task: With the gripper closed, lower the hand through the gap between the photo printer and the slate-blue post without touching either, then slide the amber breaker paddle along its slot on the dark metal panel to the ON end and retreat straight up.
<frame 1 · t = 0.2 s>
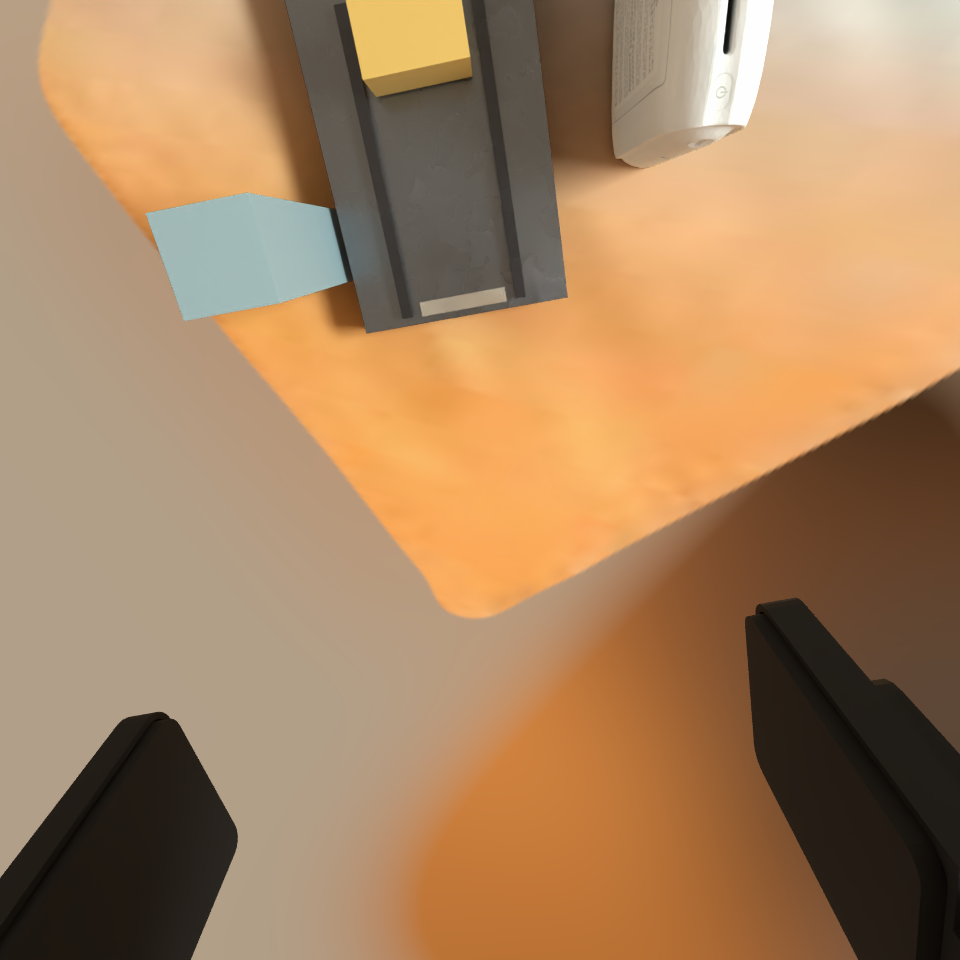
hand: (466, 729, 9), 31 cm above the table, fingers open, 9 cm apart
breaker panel: (438, 149, 33), on the table
photo printer: (647, 64, 32), on the table
breaker paddle: (413, 41, 28), point 5 cm above the table, slide at 0.0 cm
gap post: (314, 251, 36), on the table
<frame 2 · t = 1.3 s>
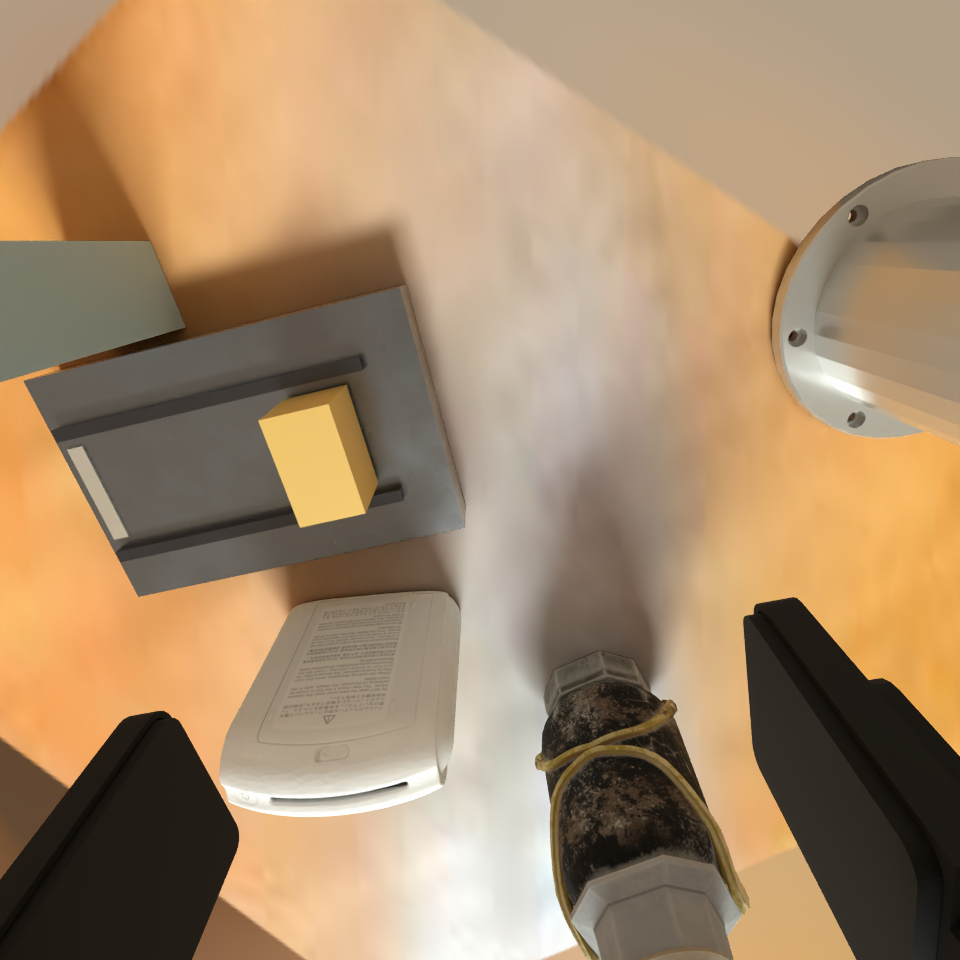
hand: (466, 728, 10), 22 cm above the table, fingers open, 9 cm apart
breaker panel: (272, 441, 31), on the table
photo printer: (376, 617, 35), on the table
breaker paddle: (323, 454, 26), point 5 cm above the table, slide at 0.0 cm
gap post: (129, 295, 28), on the table
lantern: (595, 690, 37), on the table
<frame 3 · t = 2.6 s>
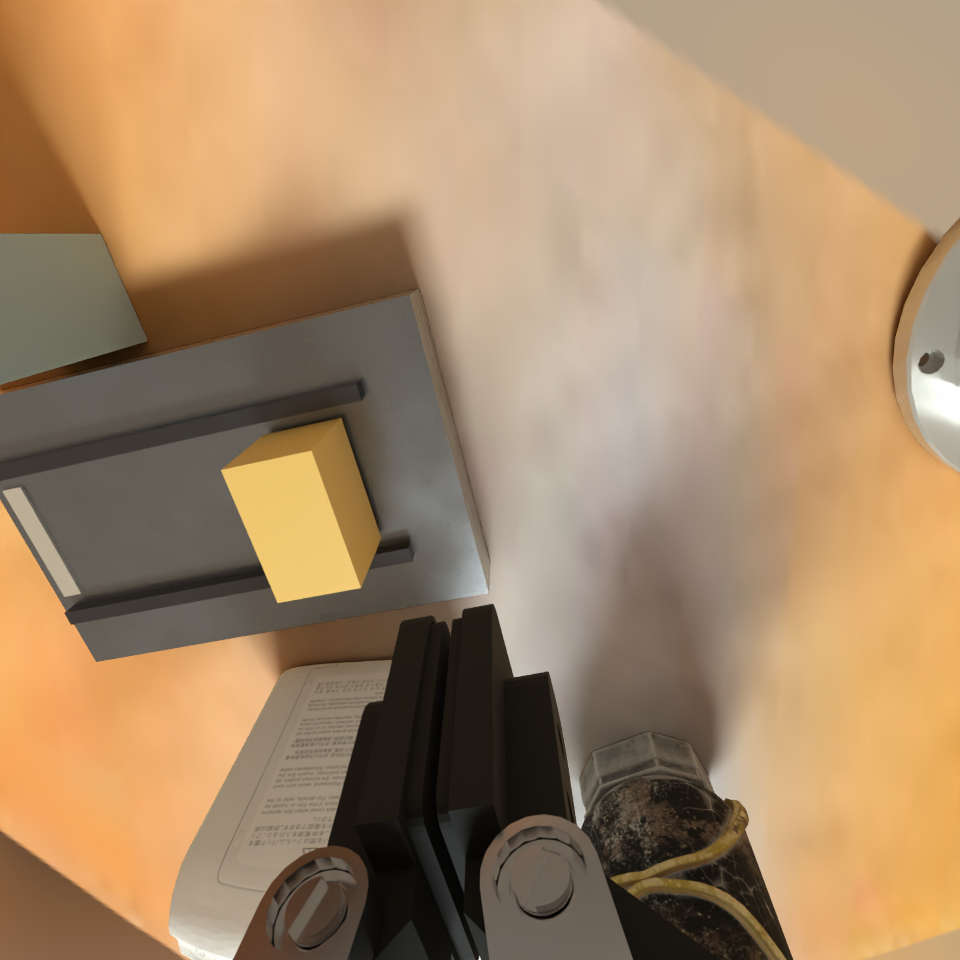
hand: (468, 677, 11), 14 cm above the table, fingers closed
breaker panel: (255, 480, 25), on the table
photo printer: (381, 685, 30), on the table
breaker paddle: (310, 508, 21), point 5 cm above the table, slide at 0.0 cm
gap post: (78, 301, 23), on the table
lantern: (642, 774, 31), on the table
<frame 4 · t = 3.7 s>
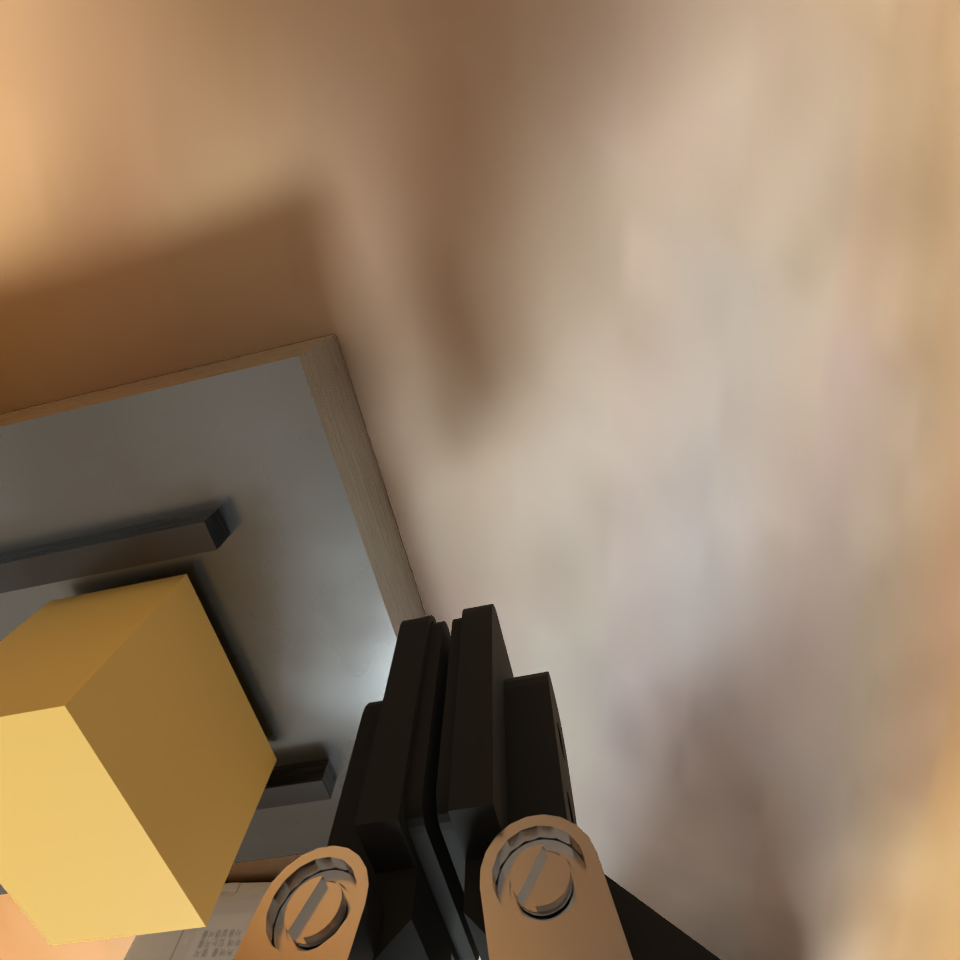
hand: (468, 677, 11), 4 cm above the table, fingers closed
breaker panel: (87, 634, 16), on the table
photo printer: (310, 903, 20), on the table
breaker paddle: (121, 750, 11), point 5 cm above the table, slide at 0.0 cm
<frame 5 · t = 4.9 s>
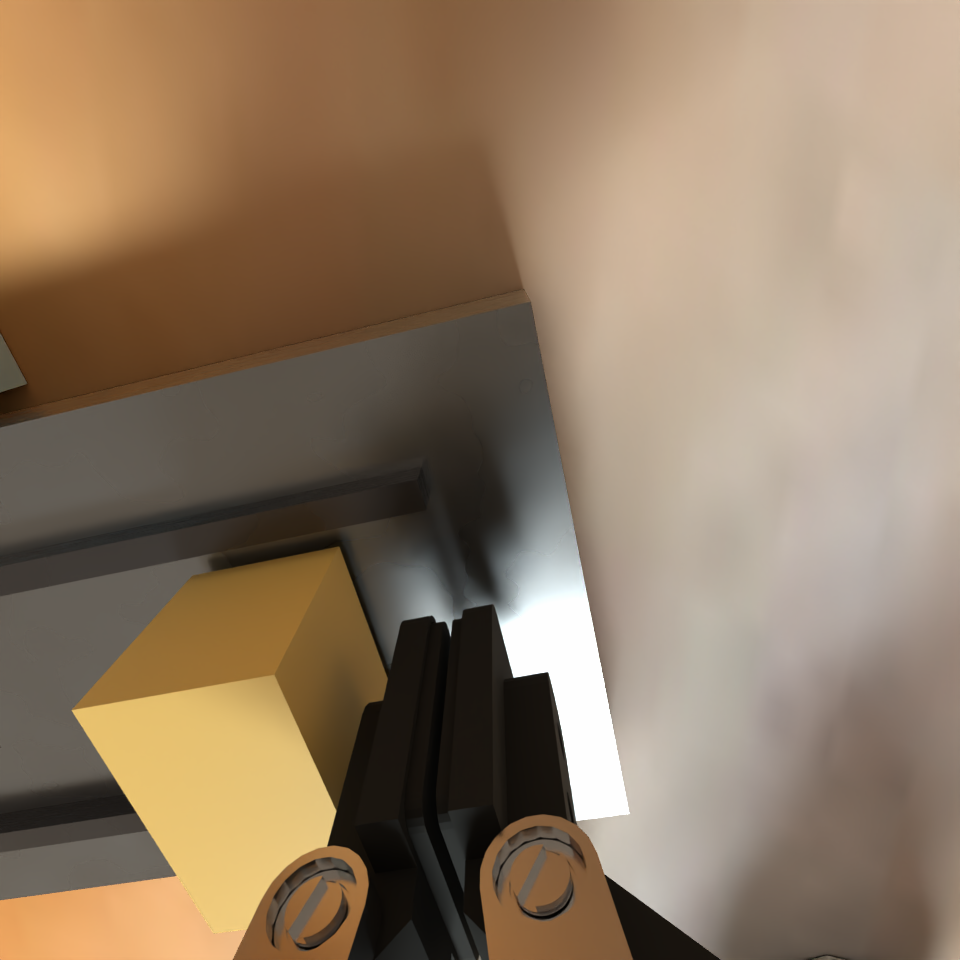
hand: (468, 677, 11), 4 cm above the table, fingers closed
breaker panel: (225, 611, 15), on the table
breaker paddle: (279, 730, 10), point 5 cm above the table, slide at 0.9 cm, touching gripper
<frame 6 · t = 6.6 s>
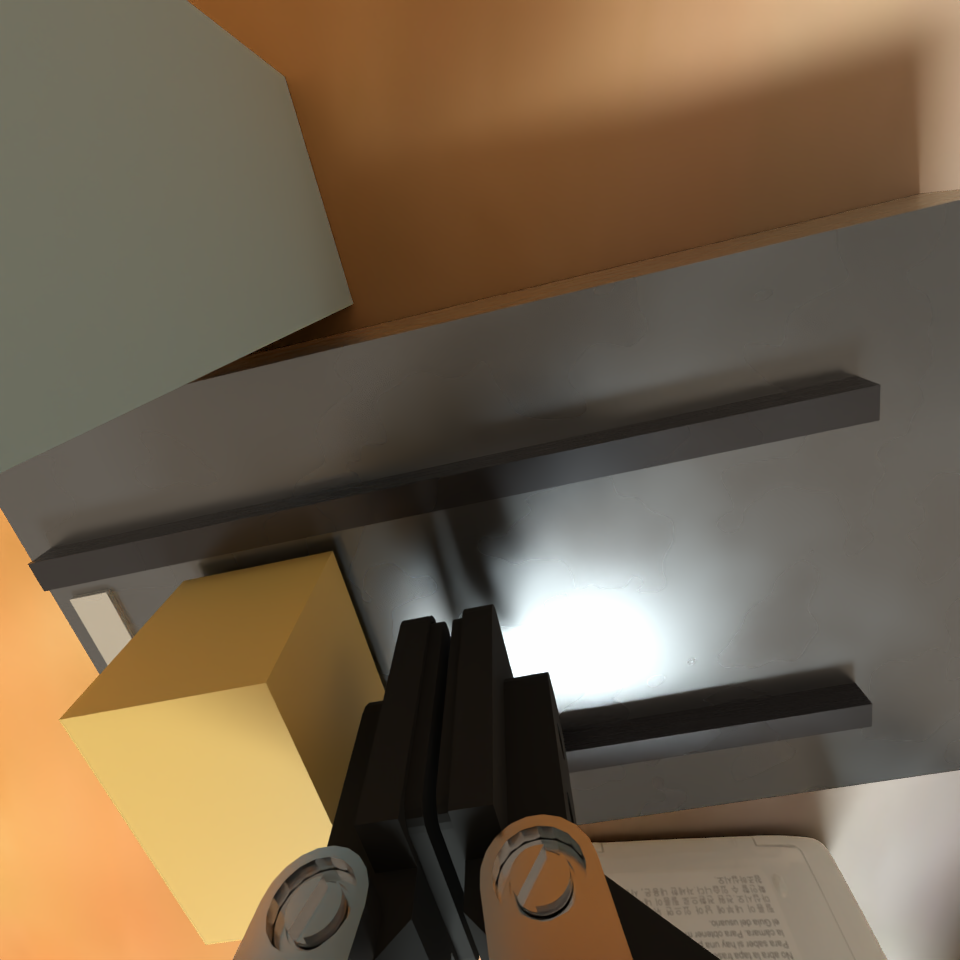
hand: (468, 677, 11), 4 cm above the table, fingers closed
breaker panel: (515, 558, 14), on the table
photo printer: (654, 866, 19), on the table
breaker paddle: (272, 737, 10), point 5 cm above the table, slide at 8.5 cm, touching gripper
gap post: (223, 223, 11), on the table
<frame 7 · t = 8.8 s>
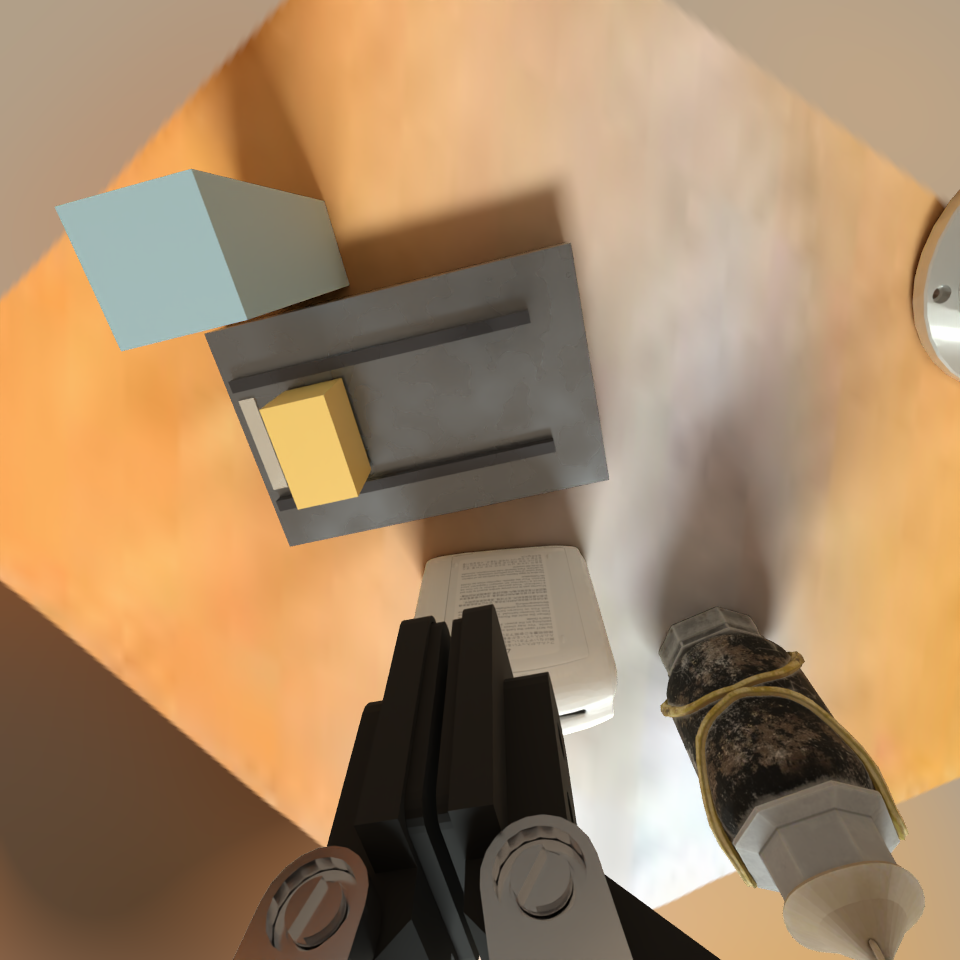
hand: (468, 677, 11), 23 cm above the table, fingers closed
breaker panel: (421, 397, 32), on the table
photo printer: (503, 573, 37), on the table
breaker paddle: (320, 442, 28), point 5 cm above the table, slide at 8.6 cm
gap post: (299, 253, 29), on the table
lantern: (708, 646, 39), on the table
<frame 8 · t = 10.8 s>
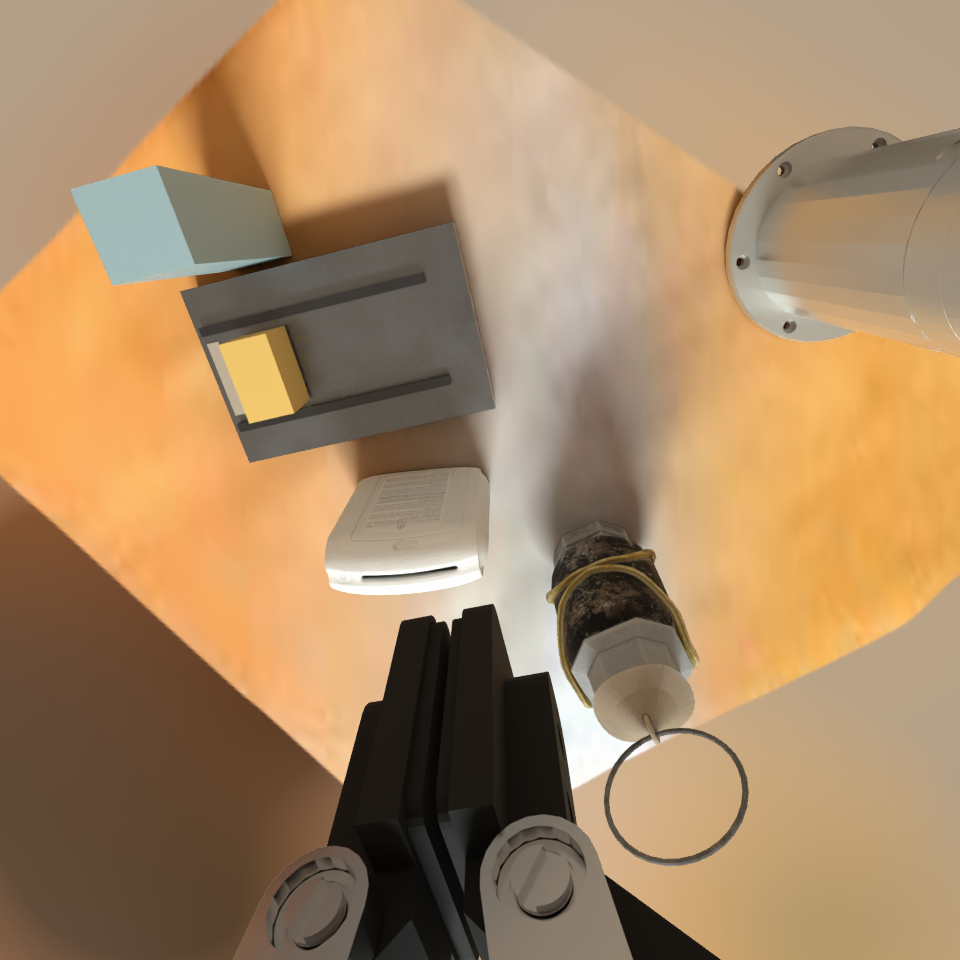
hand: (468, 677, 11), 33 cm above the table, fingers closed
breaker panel: (351, 345, 41), on the table
photo printer: (423, 491, 46), on the table
breaker paddle: (267, 373, 37), point 5 cm above the table, slide at 8.6 cm
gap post: (253, 231, 38), on the table
lantern: (594, 555, 48), on the table
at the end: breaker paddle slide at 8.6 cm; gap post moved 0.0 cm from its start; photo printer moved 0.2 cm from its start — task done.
